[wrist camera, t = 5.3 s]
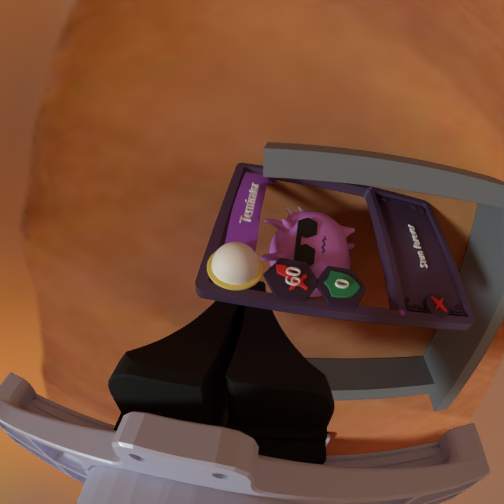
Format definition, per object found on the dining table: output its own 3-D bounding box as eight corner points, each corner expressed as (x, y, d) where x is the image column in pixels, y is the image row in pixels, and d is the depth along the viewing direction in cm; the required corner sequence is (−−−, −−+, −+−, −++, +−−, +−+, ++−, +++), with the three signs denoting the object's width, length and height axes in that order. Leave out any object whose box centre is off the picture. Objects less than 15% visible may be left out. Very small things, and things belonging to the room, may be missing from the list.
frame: (429, 365, 16) (446, 409, 13) (258, 366, 17) (251, 418, 14) (495, 178, 11) (544, 203, 7) (267, 142, 12) (260, 153, 8)
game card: (489, 311, 7) (191, 269, 7) (412, 377, 10) (202, 356, 11) (433, 188, 11) (239, 146, 12) (393, 263, 15) (233, 237, 15)
